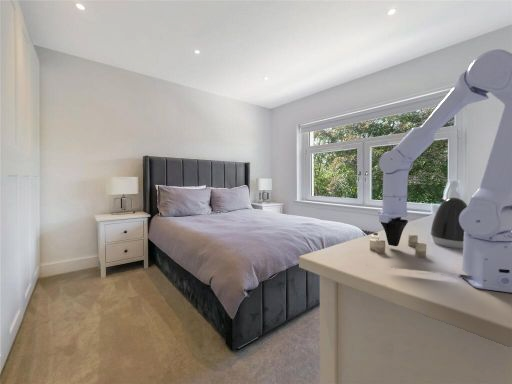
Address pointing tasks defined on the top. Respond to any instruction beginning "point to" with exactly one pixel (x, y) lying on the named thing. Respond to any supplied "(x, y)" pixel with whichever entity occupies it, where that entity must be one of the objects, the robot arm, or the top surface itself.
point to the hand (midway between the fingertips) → (393, 245)
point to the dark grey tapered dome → (448, 223)
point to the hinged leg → (373, 241)
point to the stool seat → (412, 242)
